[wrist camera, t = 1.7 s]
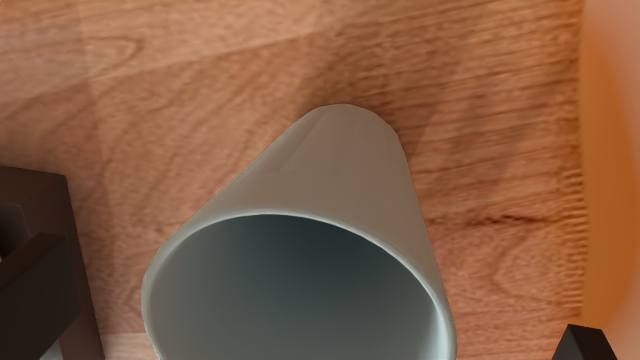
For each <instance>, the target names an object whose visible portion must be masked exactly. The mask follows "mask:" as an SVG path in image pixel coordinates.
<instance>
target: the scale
mask: <svg viewBox="0 0 640 360" xmlns="http://www.w3.org/2000/svg"><path fill="white" fill-rule="evenodd" d="M39 232H45V233H51V234H57V235H63V236H66V239H67V244H68V249H69V253H70V258H71V262H72V267H73V271H74V276H75V280H76V285H77V289H78V294H79V299H80V303H81V308H82V313H81V314H80V315H79V316H78V317H77V318H76V319H75V320H74V322H73V323H72V324H71V325H70V326H69V327H68V328H67V329H66V330H65V332H64V333H63V334H62V335H61V336H60V337H59V338H58V339H57V340H56V342H55V343H54V344H53V345H52V346H51V347H50V348H49V349H48V351H47V352H46V353H45V354H44V355H43V356H42V357H41V358H40V359H39V360H104V356H103V352H102V347H101V342H100V338H99V333H98V328H97V324H96V319H95V314H94V310H93V305H92V300H91V296H90V291H89V287H88V282H87V277H86V273H85V268H84V263H83V259H82V254H81V249H80V245H79V240H78V235H77V231H76V226H75V221H74V217H73V212H72V207H71V203H70V198H69V194H68V189H67V184H66V180H65V176H63V175H57V174H50V173H44V172H38V171H32V170H25V169H19V168H13V167H7V166H1V165H0V262H1V261H2V260H3V259H5V258H6V257H7V256H9V255H10V254H11V253H13V252H14V251H15V250H17V249H18V248H19V247H20V246H22V245H23V244H24V243H26V242H27V241H28V240H30V239H31V238H32V237H34V236H35V235H36V234H37V233H39Z"/></svg>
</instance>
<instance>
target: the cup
mask: <svg viewBox="0 0 640 360" xmlns="http://www.w3.org/2000/svg"><path fill="white" fill-rule="evenodd" d="M141 309H142V317H143V322H144V326H145V329H146V332H147V335H148V337H149V340H150V342H151V344H152V346H153V348H154V350H155V352H156V353H157V355H158V357H159V358H160V360H456V355H457V336H456V329H455V324H454V320H453V316H452V312H451V309H450V306H449V302H448V299H447V295H446V292H445V288H444V285H443V282H442V278H441V275H440V271H439V268H438V265H437V262H436V259H435V256H434V253H433V249H432V246H431V242H430V239H429V235H428V232H427V228H426V225H425V221H424V218H423V214H422V211H421V207H420V204H419V200H418V197H417V193H416V190H415V186H414V183H413V179H412V176H411V172H410V169H409V166H408V162H407V159H406V156H405V153H404V150H403V148H402V146H401V144H400V141H399V138H398V135H397V134H396V132H395V131H394V129H393V128H392V127H391V126H390V125H389V124H388V123H386V122H385V121H384V120H383V119H382V118H381V117H380V116H379V115H377V114H376V113H374V112H372V111H370V110H368V109H365V108H361V107H358V106H355V105H351V104H333V105H326V106H320V107H317V108H315V109H313V110H311V111H310V112H308V113H307V114H306V115H304V116H302V117H301V118H299V119H298V120H297V121H295V122H294V123H293V124H292V125H291V126H290V127H289V128H288V129H287V130H285V131H284V132H283V133H282V134H281V135H280V136H279V137H278V138H277V139H276V140H274V141H273V142H272V143H271V144H270V145H269V146H268V147H267V148H266V149H265V150H264V151H262V152H261V153H260V154H259V155H258V156H257V157H256V158H255V159H254V160H253V161H252V162H250V163H249V164H248V165H247V166H246V167H245V168H244V169H243V170H242V171H241V172H240V173H239V174H237V175H236V176H235V177H234V178H233V179H232V180H231V181H230V182H229V183H228V184H227V185H225V186H224V187H223V188H222V189H221V190H220V191H219V192H218V193H217V194H216V195H215V196H213V197H212V198H211V199H210V200H209V201H208V202H206V203H205V204H204V205H203V206H202V207H201V208H200V209H199V210H198V211H197V212H195V213H194V214H193V215H192V216H191V217H190V218H189V219H188V220H187V221H186V222H185V223H183V224H182V225H181V226H180V227H179V228H178V229H177V230H176V231H175V232H174V233H173V234H172V235H170V236H169V237H168V238H167V239H166V241H165V242H164V243H163V244H162V245H161V246H160V247H159V249H158V250H157V252H156V253H155V255H154V256H153V258H152V260H151V261H150V263H149V265H148V267H147V270H146V273H145V276H144V279H143V284H142V292H141Z"/></svg>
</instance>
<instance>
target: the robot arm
mask: <svg viewBox="0 0 640 360" xmlns="http://www.w3.org/2000/svg"><path fill="white" fill-rule="evenodd" d="M81 313H82V308H81V303H80V299H79V294H78V289H77V285H76V280H75V276H74V271H73V267H72V262H71V258H70V253H69V249H68V244H67V239H66V236H63V235H57V234H51V233H45V232H39V233H37V234H36V235H35V236H34V237H32V238H31V239H30V240H28V241H27V242H26V243H24V244H23V245H22V246H20V247H19V248H18V249H17V250H15V251H14V252H13V253H11V254H10V255H9V256H7V257H6V258H5V259H3V260H2V261H1V262H0V360H39V359H40V358H41V357H42V356H43V355H44V354H45V353H46V352H47V351H48V349H49V348H50V347H51V346H52V345H53V344H54V343H55V342H56V340H57V339H58V338H59V337H60V336H61V335H62V334H63V333H64V332H65V330H66V329H67V328H68V327H69V326H70V325H71V324H72V323H73V322H74V320H75V319H76V318H77V317H78V316H79V315H80V314H81ZM552 360H617V358H616V356H615V354H614V352H613V350H612V348H611V346H610V345H609V343H608V341H607V339H606V337H605V335H604V333H603V332H602V330H601V329H595V328H589V327H584V326H578V325H572V324H568V325H567V327H566V330H565V332H564V334H563V336H562V338H561V340H560V342H559V345H558V347H557V349H556V351H555V353H554V355H553V357H552Z"/></svg>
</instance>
